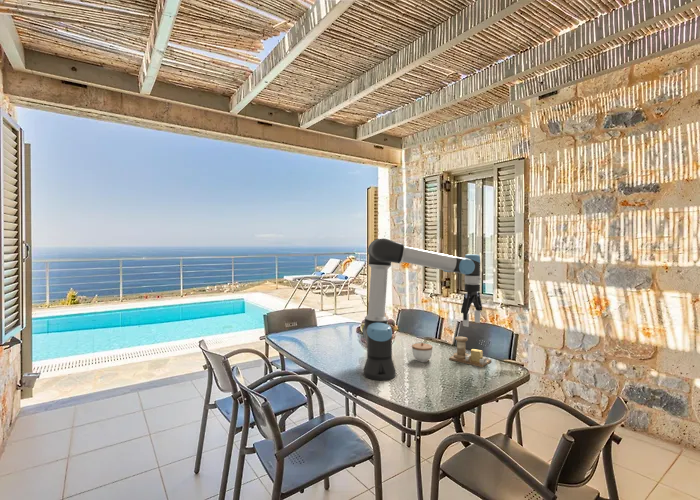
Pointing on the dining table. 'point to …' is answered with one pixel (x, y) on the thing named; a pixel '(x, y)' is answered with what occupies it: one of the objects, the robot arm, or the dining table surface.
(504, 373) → the dining table surface
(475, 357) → the tab
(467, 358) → the board
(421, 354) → the lidded jar
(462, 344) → the bobbin
